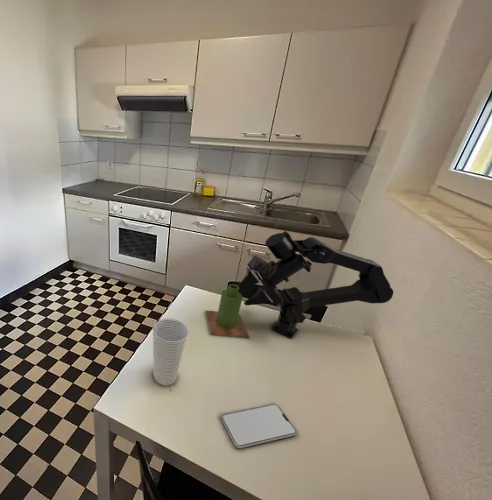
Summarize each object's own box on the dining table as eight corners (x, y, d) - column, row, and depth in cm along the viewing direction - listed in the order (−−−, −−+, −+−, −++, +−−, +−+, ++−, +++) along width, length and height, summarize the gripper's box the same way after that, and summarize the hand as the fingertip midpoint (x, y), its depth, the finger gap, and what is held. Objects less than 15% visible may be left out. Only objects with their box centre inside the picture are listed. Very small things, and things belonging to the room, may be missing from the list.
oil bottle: (238, 321, 95) (246, 286, 90) (232, 331, 90) (241, 294, 85) (220, 314, 98) (227, 279, 93) (213, 323, 93) (220, 287, 88)
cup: (142, 372, 74) (145, 325, 68) (166, 359, 79) (171, 314, 73) (163, 396, 68) (168, 346, 62) (187, 380, 73) (195, 332, 66)
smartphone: (219, 414, 63) (276, 402, 67) (219, 416, 64) (275, 404, 67) (237, 447, 57) (298, 433, 60) (236, 449, 57) (298, 435, 61)
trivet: (238, 315, 100) (239, 313, 100) (248, 338, 89) (248, 335, 89) (205, 312, 100) (205, 310, 100) (210, 335, 89) (211, 332, 89)
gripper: (259, 238, 92) (220, 266, 96) (282, 263, 75) (233, 295, 79) (277, 262, 95) (238, 287, 99) (303, 291, 77) (255, 320, 82)
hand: (240, 296), depth 90 cm, fingers open, 9 cm apart
